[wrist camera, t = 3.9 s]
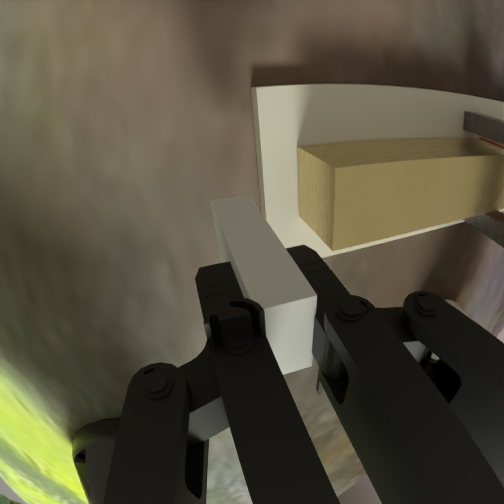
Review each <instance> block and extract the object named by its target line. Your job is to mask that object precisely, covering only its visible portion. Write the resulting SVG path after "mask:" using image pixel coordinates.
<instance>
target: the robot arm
mask: <svg viewBox="0 0 504 504" xmlns="http://www.w3.org/2000/svg"><path fill="white" fill-rule="evenodd" d="M211 205H212V212H213V219H214V226H215V232H216V239H217V245H218V252H219V258H220V261H221V263H219V264H214V265H210V266H205V267H200V268H199V270H198V273H197V275H196V277H195V280H196V285H197V290H198V295H199V300H200V305H201V309H202V314H203V318H204V328H205V332H206V336H207V342H206V346H205V348H204V349H203V351H202V352H201V353H200V354H199V355H198V356H197V357H196V358H195V359H193V360H191V361H190V362H188V363H186V364H184V365H182V366H180V367H178V368H177V367H176V366H174V365H172V364H168V363H162V362H161V363H155V364H150V365H148V366H146V367H144V368H141V369H140V370H139V371H138V372H137V373H136V374H135V375H134V376H133V378H132V380H131V382H130V384H129V387H128V390H127V394H126V398H125V402H124V406H123V411H122V415H121V419H112V420H105V421H100V422H96V423H92V424H89V425H87V426H85V427H83V428H81V429H80V430H79V431H77V432H76V434H75V435H74V437H73V450H72V456H73V461H74V464H75V467H76V470H77V473H78V476H79V479H80V481H81V484H82V487H83V489H84V492H85V495H86V497H87V500H88V502H89V504H206V492H207V469H208V449H209V438H211V437H212V436H214V435H216V434H218V433H220V432H221V431H223V430H225V429H227V428H228V427H230V429H231V433H232V436H233V440H234V443H235V447H236V450H237V454H238V457H239V461H240V464H241V467H242V471H243V474H244V477H245V480H246V484H247V487H248V490H249V493H250V496H251V500H252V503H253V504H340V503H339V500H338V498H337V496H336V494H335V492H334V489H333V487H332V485H331V483H330V481H329V478H328V476H327V474H326V472H325V470H324V467H323V465H322V463H321V461H320V458H319V456H318V454H317V452H316V450H315V447H314V445H313V443H312V441H311V438H310V436H309V434H308V432H307V429H306V427H305V425H304V422H303V420H302V418H301V416H300V413H299V411H298V409H297V406H296V404H295V402H294V400H293V397H292V395H291V393H290V390H289V388H288V386H287V383H286V381H285V379H284V377H283V374H287V373H290V372H294V371H297V370H300V369H304V368H307V367H310V366H312V358H313V355H314V357H315V359H316V361H317V363H318V365H319V371H318V379H317V387H316V390H317V394H318V395H319V394H321V392H322V386H323V388H324V390H325V392H326V394H327V396H328V398H329V400H330V402H331V404H332V406H333V408H334V410H335V412H336V414H337V416H338V418H339V420H340V422H341V424H342V426H343V428H344V429H345V431H346V433H347V435H348V437H349V439H350V441H351V443H352V445H353V447H354V449H355V451H356V453H357V455H358V457H359V459H360V461H361V463H362V465H363V467H364V469H365V471H366V473H367V475H368V477H369V479H370V481H371V482H372V484H373V487H374V488H375V491H376V492H377V494H378V496H379V498H380V500H381V502H382V504H504V487H503V486H504V343H503V342H501V341H500V340H499V339H497V338H496V337H495V336H493V335H492V334H491V333H489V332H488V331H487V330H485V329H484V328H483V327H481V326H480V325H479V324H477V323H476V322H474V321H473V320H472V319H470V318H469V317H468V316H466V315H465V314H463V313H462V312H461V311H459V310H458V309H456V308H455V307H454V306H452V305H451V304H449V303H448V302H446V301H445V300H444V299H442V298H441V297H439V296H437V295H435V294H433V293H430V292H425V291H420V292H414V293H411V294H409V295H408V296H407V297H406V298H405V300H404V304H403V307H393V308H375V307H374V305H373V304H371V303H370V302H369V301H368V300H367V299H364V298H362V297H359V296H354V295H350V293H349V292H348V291H347V289H346V288H345V287H344V286H343V284H342V283H341V282H340V281H339V279H338V278H337V277H336V276H335V274H334V273H333V272H332V270H331V269H329V267H328V265H327V264H326V263H325V262H323V259H322V258H321V257H320V256H319V254H318V253H317V252H316V251H315V250H313V249H311V248H309V247H308V246H306V245H299V246H294V247H290V248H285V247H284V245H283V244H282V242H281V241H280V240H279V238H278V237H277V235H276V234H275V232H274V231H273V229H272V228H271V227H270V225H269V224H268V222H267V221H266V219H265V218H264V216H263V215H262V214H261V212H260V211H259V209H258V208H257V206H256V205H255V204H254V202H253V201H252V199H251V198H250V196H249V195H248V194H245V195H240V196H234V197H229V198H223V199H218V200H212V201H211ZM433 353H434V354H435V355H436V356H438V357H439V359H438V360H436V359H433V358H431V356H432V354H433ZM0 504H20V503H18V502H15V501H12V500H9V499H8V498H7V497H6V496H5V495H2V494H0Z"/></svg>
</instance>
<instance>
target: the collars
mask: <svg viewBox="0 0 504 504" xmlns="http://www.w3.org/2000/svg"><path fill="white" fill-rule="evenodd" d="M463 130H466V131H469V132H471V133H474V134H477V135H479V136H482V137H485V138H487V139H490V140H493V141H495V142H498V143H500V144H502V145H504V120H501V119H498V118H495V117H492V116H488V115H485V114H482V113H479V112H471V111H464V124H463ZM463 220H464V221H466V222H467V223H469V224H470V225H472V226H473V227H475V228H476V229H478V230H479V231H481V232H482V233H484V234H485V235H486V236H488V237H489V238H491V239H492V240H494V241H495V242H496V243H498V244H499V245H501V246H502V247H503V248H504V214H503V213H501V212H500V211H498V210H496V211H492V212H488V213H484V214H481V215H477V216H473V217H469V218H465V219H463Z"/></svg>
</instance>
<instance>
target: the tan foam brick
mask: <svg viewBox="0 0 504 504" xmlns="http://www.w3.org/2000/svg"><path fill="white" fill-rule="evenodd" d="M297 152H298V183H299V216H300V218H301V219H302V220H303V221H304V222H305V223H306V224H307V225H308V226H309V227H310V228H311V229H312V230H313V231H314V232H315V233H316V234H317V235H318V236H319V238H320V239H321V240H322V241H323V242H324V243H325V244H326V245H327V246H328V247H329V248H330V249H331V250H332V251H336V250H340V249H345V248H349V247H353V246H357V245H361V244H365V243H369V242H373V241H378V240H382V239H386V238H390V237H394V236H398V235H402V234H406V233H410V232H414V231H418V230H422V229H426V228H430V227H434V226H438V225H442V224H446V223H450V222H453V221H457V220H461V219H465V218H469V217H473V216H477V215H481V214H484V213H488V212H492V211H496V210H500V209H503V208H504V145H502V144H500V143H498V142H495V141H493V140H490V139H487V138H485V137H480V138H410V139H385V140H367V141H353V142H340V143H329V144H318V145H309V146H299V147H297Z"/></svg>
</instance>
